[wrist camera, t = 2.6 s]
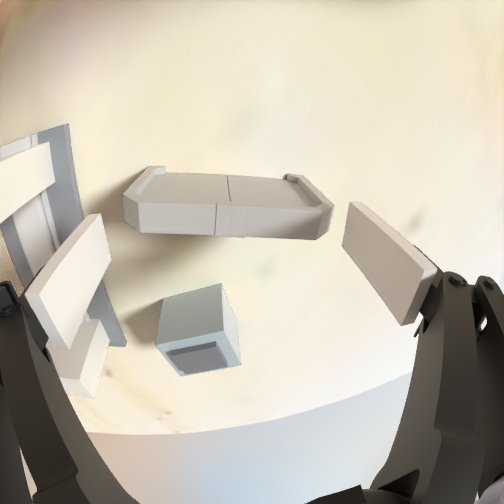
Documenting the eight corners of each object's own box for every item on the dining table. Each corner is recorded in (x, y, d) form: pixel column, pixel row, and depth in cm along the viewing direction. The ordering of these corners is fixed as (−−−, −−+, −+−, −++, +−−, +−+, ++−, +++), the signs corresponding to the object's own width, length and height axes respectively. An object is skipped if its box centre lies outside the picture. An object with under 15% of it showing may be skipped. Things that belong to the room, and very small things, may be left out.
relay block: (163, 297, 25) (154, 350, 20) (221, 282, 25) (224, 336, 20) (183, 330, 28) (180, 381, 22) (236, 318, 28) (242, 370, 22)
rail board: (-12, 152, 14) (-22, 157, 13) (68, 123, 16) (58, 126, 14) (55, 336, 27) (51, 345, 25) (126, 341, 28) (124, 352, 27)
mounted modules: (-6, 160, 14) (-67, 196, 7) (49, 140, 15) (-22, 172, 8) (59, 337, 26) (38, 392, 19) (110, 340, 27) (93, 403, 19)
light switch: (148, 165, 19) (114, 202, 12) (303, 174, 21) (344, 214, 14) (149, 186, 20) (117, 233, 13) (299, 195, 22) (336, 242, 15)
